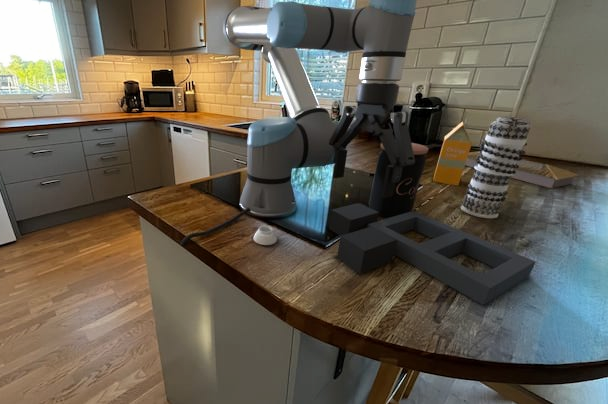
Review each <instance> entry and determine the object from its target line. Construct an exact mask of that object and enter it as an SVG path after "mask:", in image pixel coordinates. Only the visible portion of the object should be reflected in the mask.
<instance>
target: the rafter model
mask: <svg viewBox="0 0 608 404" xmlns="http://www.w3.org/2000/svg"><path fill="white" fill-rule="evenodd" d="M480 151H481V150H479V151H471V152H470V151H469V154H468V157H467V160H466V164H465V167H470V168H474V167H475V166H476V164H478V163H477V162H476V159H477V158H478V155H477V154H478V153H479V152H480ZM516 163H517V165H518V166H519V167H518V168H516V169H513V170H514V171H516V173H515V174H514V175H512V176H511V179H515V180H519V181H523V182H527V183H530V184H533V185H534V184H535V185H537V186H542V187H545V188H548V189H554V188H558V187H564V186H568V185H571V184H572V182H573V180H574V178H575V177H578V176H580V175H581V174H578V173H576V172H571V171H569V170H566V169H563V168H560V167H557V166H554V165H551V164H548V163H545V164H543V163H542V162H540V163H539V162H537V161H535V162H534V161H533V160H531V161H530V160H529V159H524V158H523V159H522V160H520V161H517V162H516Z"/></svg>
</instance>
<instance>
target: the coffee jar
mask: <svg viewBox="0 0 608 404" xmlns="http://www.w3.org/2000/svg"><path fill="white" fill-rule="evenodd" d="M411 144H412V149H413V154H414V159H415V163H414V164H413V165H407V166H404V167H403V169H402V173H401V177H400V180H399V182H396V183H395V188H394V192H393V196H390V197H386V198H382V197H381V192H382V188H383V183H384V178H385V173H386V168H387V166H388V165H391V162H390V160H389V158H388V156H387V153H386V151H385V149H384V147H383V144H382V142H381V143H380V148H381V150H380V151H379V152H378V155H377V161H376V164H375V165H376V166H375V170H374V175H373V181H372V184H371V190H370V196H369V200H368V207H369V208H371V209H373V210H375V211H377V212H379V215H378V217H381V218H384V219H387V218H391V217H394V216H397V215H401V214H404V213H408V212H411V211H413V209H414V205H415V202H416V197H417V194H418V190H419V187H420V183H421V180H422V176H423V172H424V169H425V165H426V160H427V158H426V154H427V153H428V152H429V147H428V146H426V145H423V144H420V143H415V142H411Z"/></svg>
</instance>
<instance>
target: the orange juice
mask: <svg viewBox="0 0 608 404" xmlns="http://www.w3.org/2000/svg"><path fill="white" fill-rule="evenodd" d="M443 138H444V139H443V143H442V146H441V149H440V154H439V157H438V160H437V164H436V168H435V171H434V175H433V180H432V181H433V182H435V183H440V184H444V185H445V184H446V185H452V186H459V184H460V182H461V178H462V175H463V172H464V169H465V167H466V165H465V164H466V160H467V157H468V154H469V153H470V151H471V147H472V145H473V142H472V139H471V137H470V136H469V134H468V131H467V129H466V127H465V125H464V122H463V121H461V122H460V123H459V124H458V125H457V126H455V127H454V128H453V129H452V130H451V131H450V132H448V133H447V134H446V135H444V137H443Z"/></svg>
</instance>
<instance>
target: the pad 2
mask: <svg viewBox="0 0 608 404" xmlns="http://www.w3.org/2000/svg"><path fill="white" fill-rule="evenodd" d="M396 244H397V239H396V238H394V237H392V236H390V235H388V234H386V233H384V232H382V231H380V230H378V229H376V228H375V227H373V226H372V227H368V228H365V229H362V230H358V231H355V232H352V233H348V234H345V235H342V236H340V235H339V241H338V248H337V254H336V258H337V259H338V260H340V261H341V262H343V263H344V264H346V265H347V266H348V267H349V268H350V269H352V270H354V271H355V272H357V273H358V274H359V275H361V274H363V273H366V272H369V271H372V270H373V269H376V268H378V267H380V266H381V267H382V266H383V265H387V264H389V263H391V262H393V259H394V255H395V254H394V251H395V248H396Z"/></svg>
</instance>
